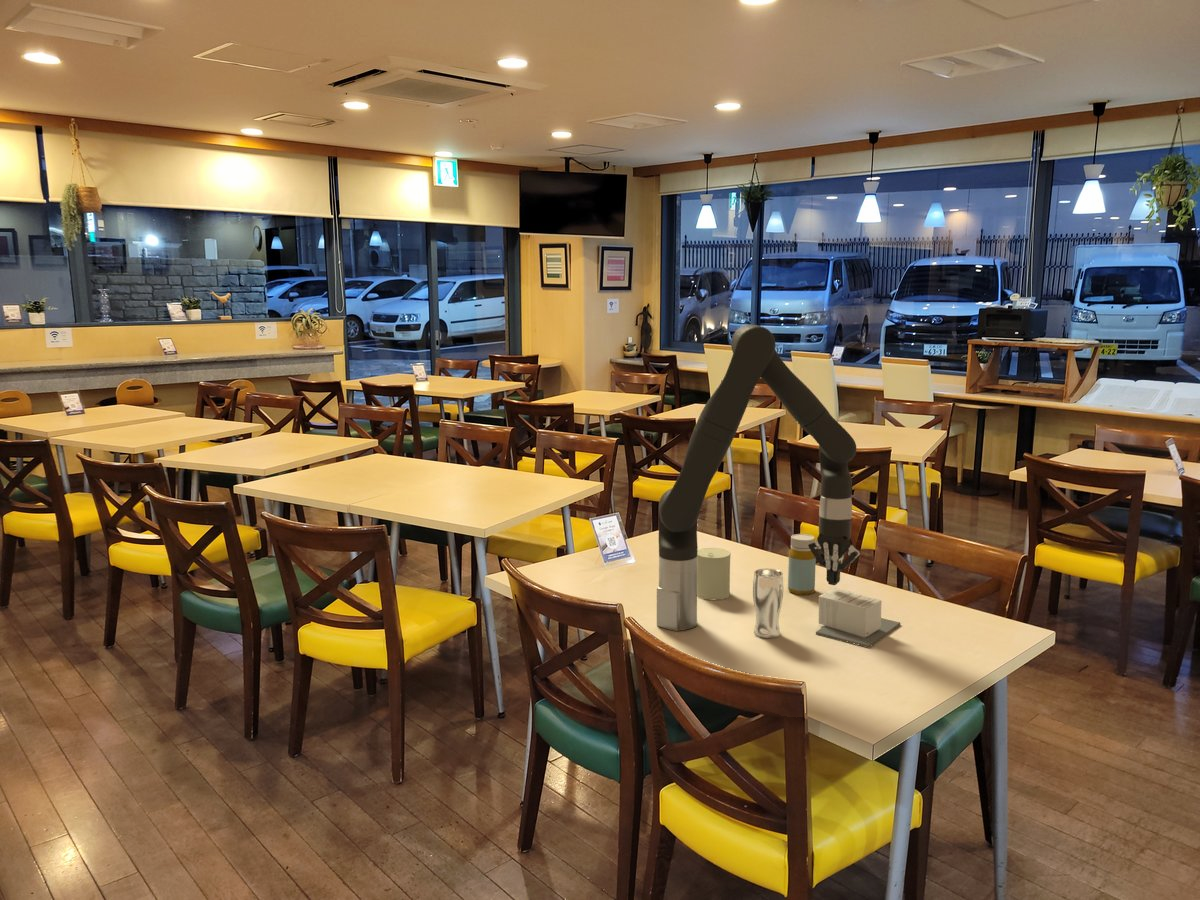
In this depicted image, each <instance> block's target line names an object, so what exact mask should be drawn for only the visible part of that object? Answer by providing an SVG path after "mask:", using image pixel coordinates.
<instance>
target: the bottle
mask: <svg viewBox="0 0 1200 900" xmlns="http://www.w3.org/2000/svg"><path fill="white" fill-rule="evenodd" d="M815 541H816V538H815V536H814V535H811V534H807V533H806V534H805V533H796V534H792V535H791V536H790V549H789V552H788V567H787V568H788V569H787V570H788V571H787V589H788V590H789V592H790V593H792V594H794V593H795V594H794V595H799V594H803V596H805V595H804V594H807V595H810V593H811V594H813V592H814V591H815V589H816V588H815V587H816V561H817V560H816V558H815V556H814V555H813V553H812V552H811V550H810V548H809V547H808V545H809V544H811V543H813V542H815Z"/></svg>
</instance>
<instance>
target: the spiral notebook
mask: <svg viewBox="0 0 1200 900" xmlns="http://www.w3.org/2000/svg"><path fill="white" fill-rule="evenodd" d="M900 626H901V622H900V621H896V620H891V619H887V618H883V617H881V628H880V629H879V630H877V631H875V632H874V633H872V634H870V635H869V636H867V637H865V638H863V637H860V636H857V635H854V634H851V633H847V632H844V631H841V630H838V629H835V628H831V627H828V626H825V625H823V626H822V627H821V628H819V629H817V630H816V631H815V635H817V634H819V635H818V636H821V635H822V637H825V638H829V637H830V639H833V638H834V639H833V640H836V639H838V640H837V641H840V640H842V641H841V642H844V641H848V642H851V643H855V644H859V645H862V646H861V647H863V646H866V647H865V648H867V647H870V646H871V645H872V646H874V645H875V644H877V643H878V642H879V641H880V640H882V639H883V638H885V637H886V636H888V633H889V634H890V633H892V632H893V631H894V630H895V629H897V628H898V627H900ZM881 638H882V639H881ZM877 641H878V642H877ZM848 642H847V643H848ZM851 643H850V644H851ZM874 643H875V644H874ZM855 644H854V645H855ZM873 644H874V645H873ZM859 645H858V646H859ZM872 646H871V647H872ZM871 647H870V648H871Z"/></svg>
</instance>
